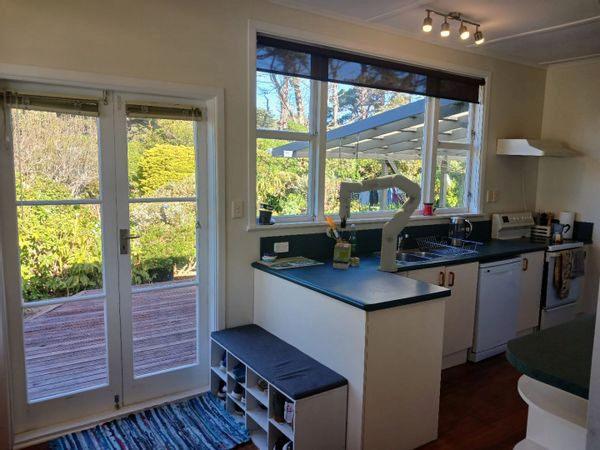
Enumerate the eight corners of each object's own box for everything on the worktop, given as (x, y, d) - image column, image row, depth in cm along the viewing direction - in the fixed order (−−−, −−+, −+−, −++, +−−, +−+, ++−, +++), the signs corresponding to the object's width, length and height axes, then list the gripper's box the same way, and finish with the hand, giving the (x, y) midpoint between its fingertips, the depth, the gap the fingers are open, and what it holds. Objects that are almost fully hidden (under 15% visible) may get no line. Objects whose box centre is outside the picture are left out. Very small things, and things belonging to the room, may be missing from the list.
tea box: (348, 269, 292) (349, 247, 291) (332, 268, 294) (333, 245, 293) (350, 264, 307) (351, 243, 305) (335, 263, 309) (336, 242, 307)
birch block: (356, 264, 309) (356, 257, 308) (359, 266, 304) (359, 258, 303) (349, 264, 308) (350, 257, 307) (352, 266, 303) (352, 258, 302)
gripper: (354, 201, 289) (352, 229, 291) (346, 199, 303) (344, 226, 306) (343, 201, 287) (341, 229, 290) (336, 199, 302) (334, 226, 304)
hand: (343, 228), depth 298 cm, fingers closed
